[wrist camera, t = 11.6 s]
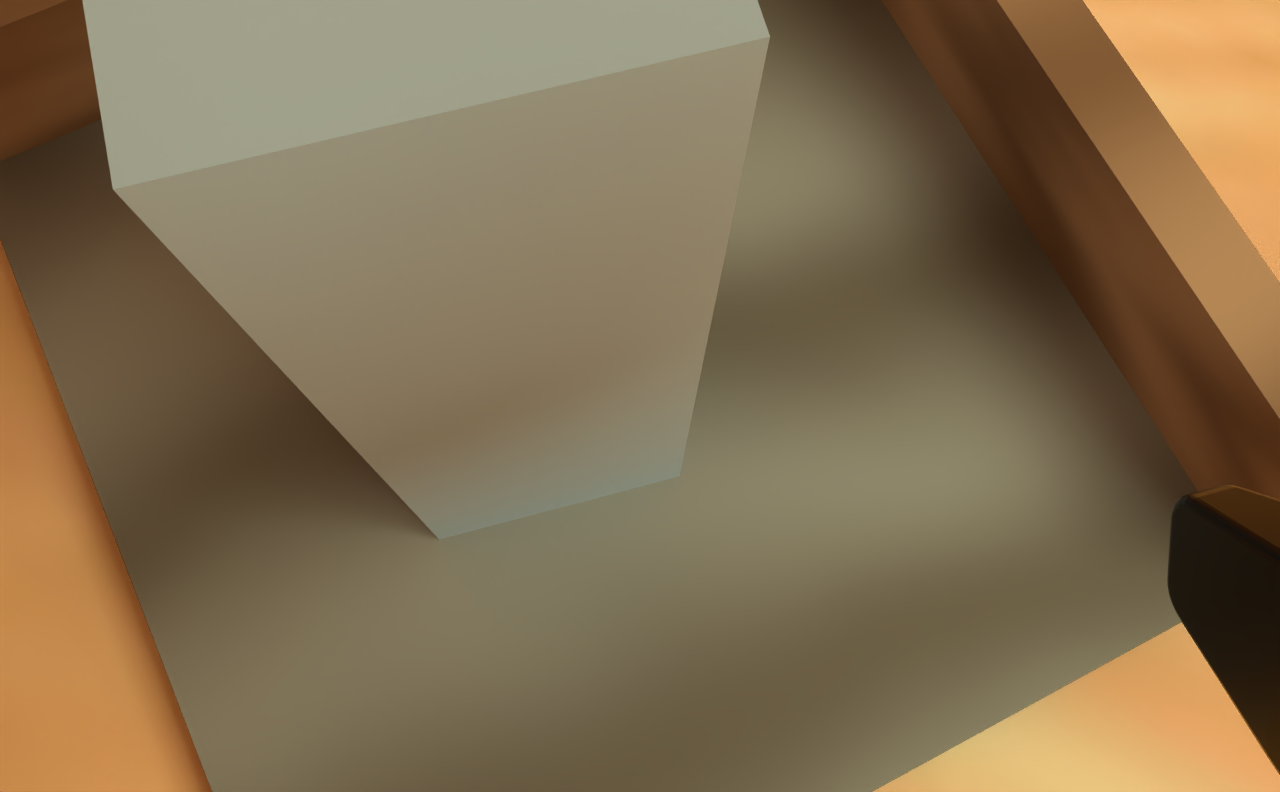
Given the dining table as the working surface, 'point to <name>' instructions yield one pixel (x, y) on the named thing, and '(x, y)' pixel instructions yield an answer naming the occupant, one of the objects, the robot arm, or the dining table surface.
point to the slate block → (451, 218)
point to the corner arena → (702, 440)
